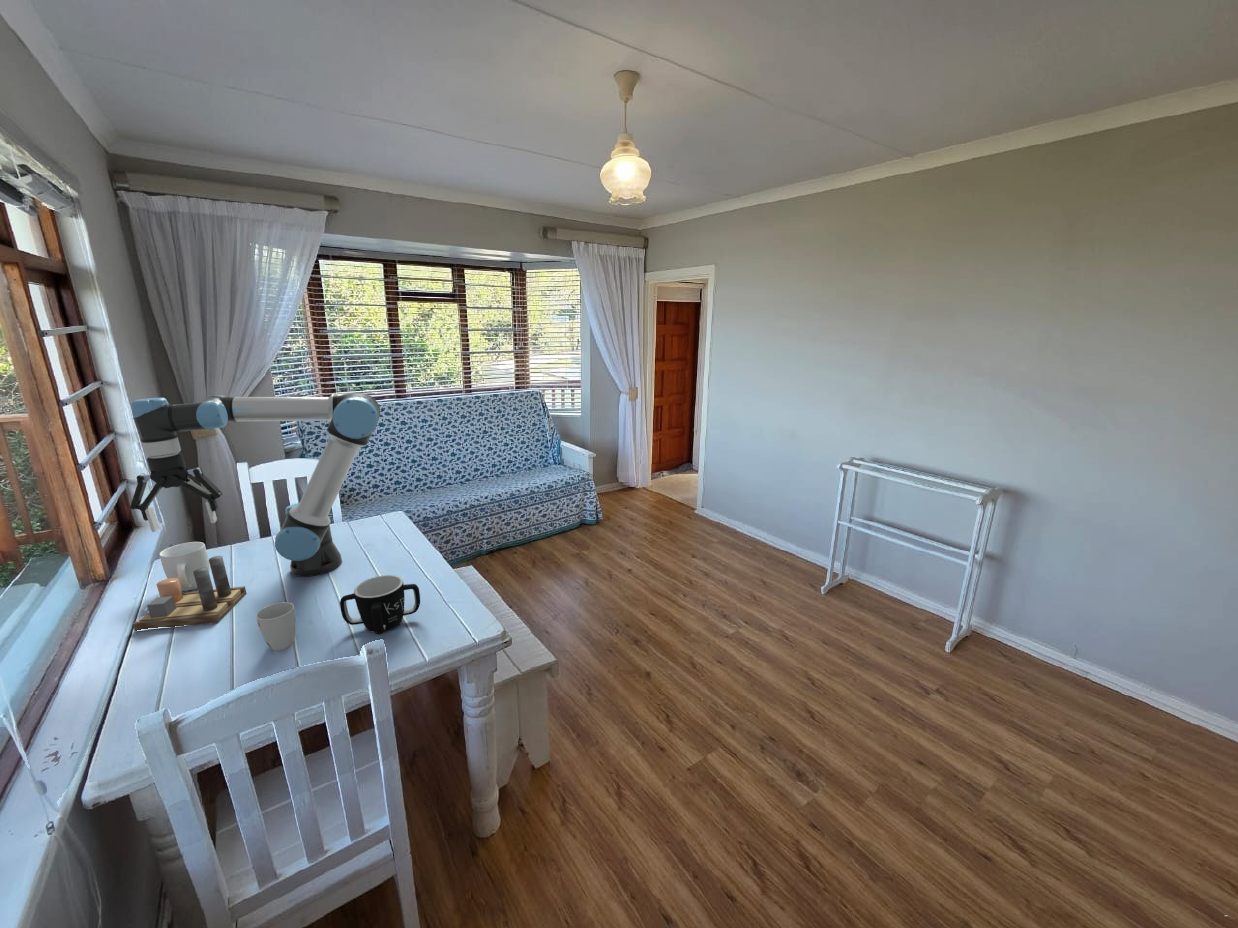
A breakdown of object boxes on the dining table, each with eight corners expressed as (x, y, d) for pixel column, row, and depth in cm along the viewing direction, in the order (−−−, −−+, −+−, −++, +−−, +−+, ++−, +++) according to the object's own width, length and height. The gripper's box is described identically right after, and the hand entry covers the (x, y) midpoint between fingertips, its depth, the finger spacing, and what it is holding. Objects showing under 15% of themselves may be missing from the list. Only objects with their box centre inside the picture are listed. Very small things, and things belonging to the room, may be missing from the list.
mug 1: (211, 593, 154) (201, 555, 151) (164, 604, 149) (152, 565, 145) (215, 574, 166) (206, 538, 163) (172, 583, 161) (162, 546, 157)
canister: (187, 594, 149) (182, 576, 147) (176, 603, 145) (171, 584, 143) (168, 596, 148) (163, 578, 146) (157, 605, 144) (152, 586, 142)
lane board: (246, 593, 154) (244, 586, 154) (218, 622, 139) (216, 614, 139) (172, 601, 150) (170, 593, 150) (134, 631, 135) (132, 623, 135)
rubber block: (176, 608, 142) (173, 595, 141) (167, 616, 138) (163, 603, 137) (160, 610, 141) (156, 597, 140) (150, 617, 137) (146, 605, 136)
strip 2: (241, 593, 152) (231, 553, 149) (232, 601, 148) (222, 560, 144) (169, 600, 149) (157, 560, 145) (158, 609, 144) (146, 567, 140)
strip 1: (228, 606, 145) (217, 564, 142) (218, 615, 141) (207, 573, 137) (152, 614, 142) (139, 572, 138) (140, 624, 137) (126, 580, 133)
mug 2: (374, 649, 127) (367, 607, 124) (339, 629, 136) (332, 590, 132) (428, 618, 141) (423, 580, 137) (393, 602, 149) (388, 566, 146)
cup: (275, 635, 133) (267, 602, 130) (306, 634, 134) (300, 601, 131) (256, 655, 125) (248, 620, 123) (290, 653, 126) (282, 618, 123)
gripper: (223, 446, 145) (241, 513, 151) (112, 457, 136) (136, 528, 142) (214, 451, 138) (233, 522, 144) (97, 464, 129) (123, 538, 135)
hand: (185, 525), depth 143 cm, fingers open, 13 cm apart
